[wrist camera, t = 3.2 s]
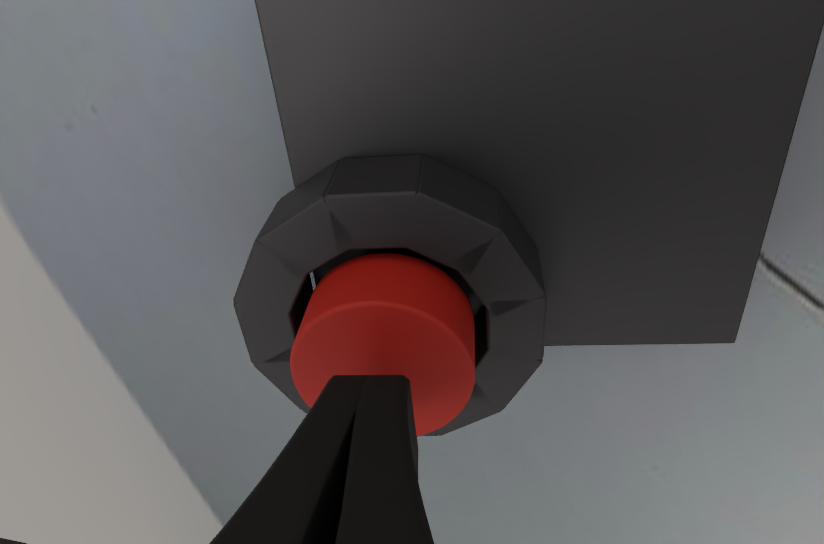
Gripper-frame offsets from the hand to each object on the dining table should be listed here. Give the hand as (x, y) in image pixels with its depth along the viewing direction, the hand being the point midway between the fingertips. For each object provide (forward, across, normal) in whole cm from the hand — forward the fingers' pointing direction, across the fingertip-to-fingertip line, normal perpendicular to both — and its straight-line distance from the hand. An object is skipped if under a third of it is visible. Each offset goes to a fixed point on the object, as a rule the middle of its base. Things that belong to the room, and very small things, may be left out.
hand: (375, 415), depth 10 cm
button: (+3, 0, 0) cm, 3 cm away
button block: (+6, -3, -2) cm, 7 cm away
